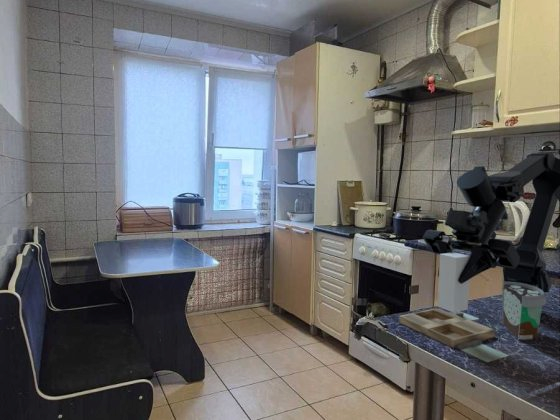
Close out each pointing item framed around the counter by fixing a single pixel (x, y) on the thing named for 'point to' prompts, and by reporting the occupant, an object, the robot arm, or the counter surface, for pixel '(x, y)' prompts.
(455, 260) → the tall white block
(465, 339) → the puzzle board
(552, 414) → the counter surface
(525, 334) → the food container
